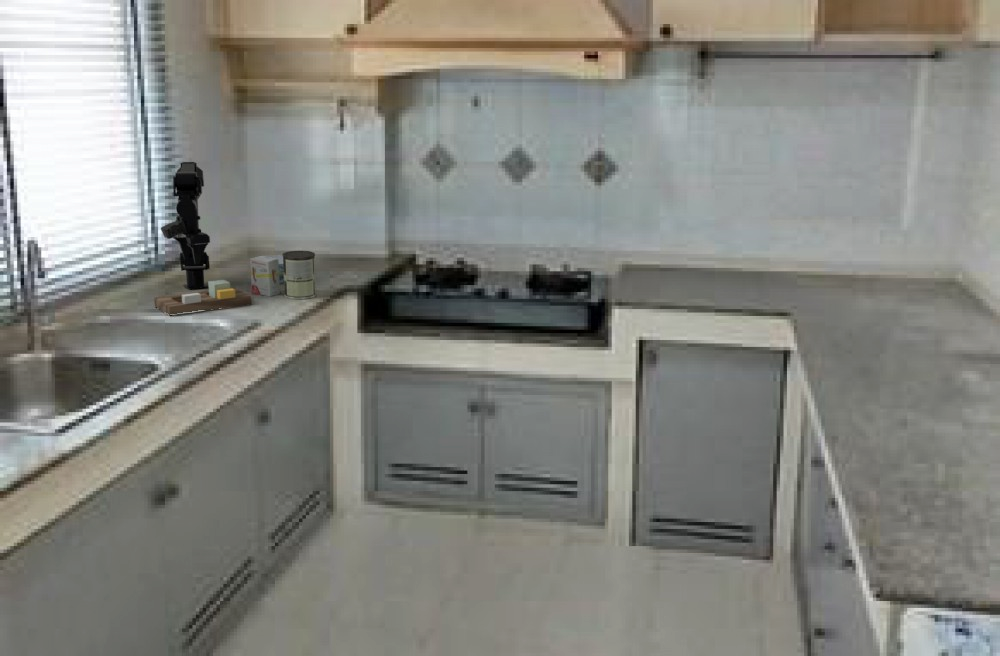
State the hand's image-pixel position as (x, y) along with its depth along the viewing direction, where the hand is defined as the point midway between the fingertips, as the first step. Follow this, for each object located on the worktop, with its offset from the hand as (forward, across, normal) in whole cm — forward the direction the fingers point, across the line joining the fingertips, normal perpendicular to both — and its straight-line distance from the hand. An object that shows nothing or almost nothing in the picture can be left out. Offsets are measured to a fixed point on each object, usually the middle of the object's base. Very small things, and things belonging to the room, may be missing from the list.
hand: (191, 261), depth 314 cm
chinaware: (+12, -8, +32) cm, 35 cm away
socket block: (+12, +11, -1) cm, 16 cm away
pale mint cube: (+12, +11, +4) cm, 17 cm away
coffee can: (+12, +15, +30) cm, 36 cm away
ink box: (+12, +6, +22) cm, 26 cm away
